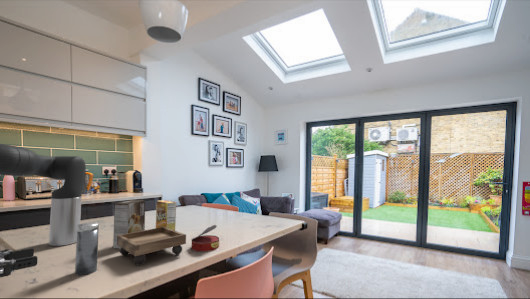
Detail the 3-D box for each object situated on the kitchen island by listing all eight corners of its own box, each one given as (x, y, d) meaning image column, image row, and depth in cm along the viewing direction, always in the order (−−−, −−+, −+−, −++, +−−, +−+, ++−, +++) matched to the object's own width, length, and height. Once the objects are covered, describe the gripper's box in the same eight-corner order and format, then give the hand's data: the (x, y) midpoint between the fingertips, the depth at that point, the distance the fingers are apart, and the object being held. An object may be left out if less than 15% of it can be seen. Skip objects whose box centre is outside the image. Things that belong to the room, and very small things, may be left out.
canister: (73, 271, 70) (75, 224, 71) (94, 266, 74) (96, 221, 75) (77, 277, 67) (79, 227, 68) (99, 271, 70) (101, 224, 71)
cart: (116, 254, 83) (117, 235, 83) (163, 243, 95) (164, 226, 95) (134, 268, 72) (135, 245, 73) (185, 253, 84) (186, 234, 84)
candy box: (154, 239, 102) (155, 200, 103) (164, 236, 105) (165, 199, 106) (165, 243, 96) (166, 202, 97) (175, 240, 99) (176, 201, 100)
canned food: (200, 265, 86) (187, 242, 84) (194, 253, 95) (182, 231, 93) (228, 246, 91) (217, 223, 88) (220, 236, 100) (209, 215, 97)
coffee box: (130, 240, 99) (131, 199, 100) (144, 241, 98) (146, 200, 99) (112, 248, 90) (113, 203, 91) (127, 249, 89) (129, 203, 90)
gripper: (-78, 267, 46) (39, 246, 58) (-66, 250, 56) (33, 235, 68) (-82, 309, 46) (37, 280, 58) (-69, 284, 56) (31, 263, 67)
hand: (35, 256), depth 63 cm, fingers open, 8 cm apart
